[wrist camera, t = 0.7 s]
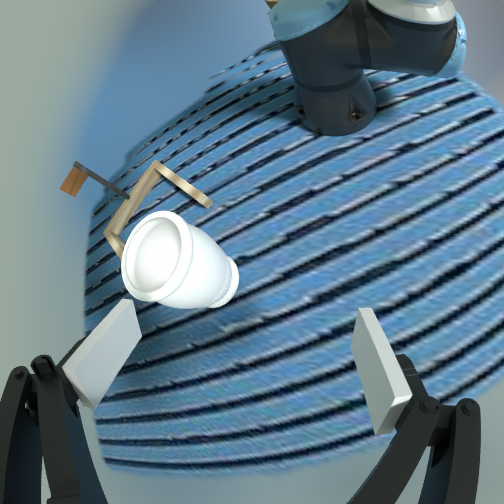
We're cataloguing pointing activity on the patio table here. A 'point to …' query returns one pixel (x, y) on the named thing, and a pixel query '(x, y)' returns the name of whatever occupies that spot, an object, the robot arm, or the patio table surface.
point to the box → (129, 196)
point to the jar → (177, 264)
